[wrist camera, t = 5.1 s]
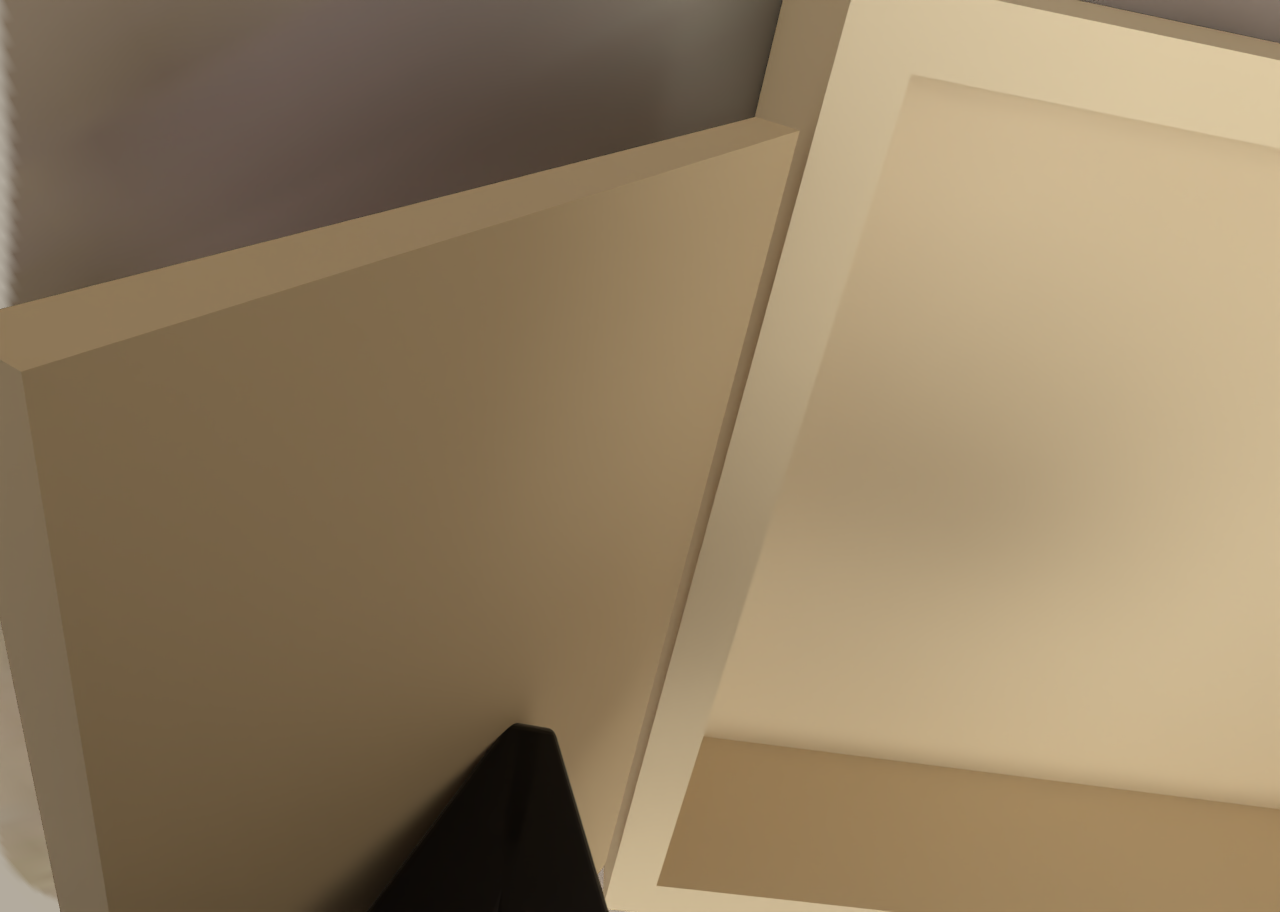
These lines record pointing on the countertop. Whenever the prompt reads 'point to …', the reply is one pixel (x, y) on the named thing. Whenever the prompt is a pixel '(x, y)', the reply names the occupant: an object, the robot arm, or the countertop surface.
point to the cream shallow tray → (988, 487)
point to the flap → (365, 518)
